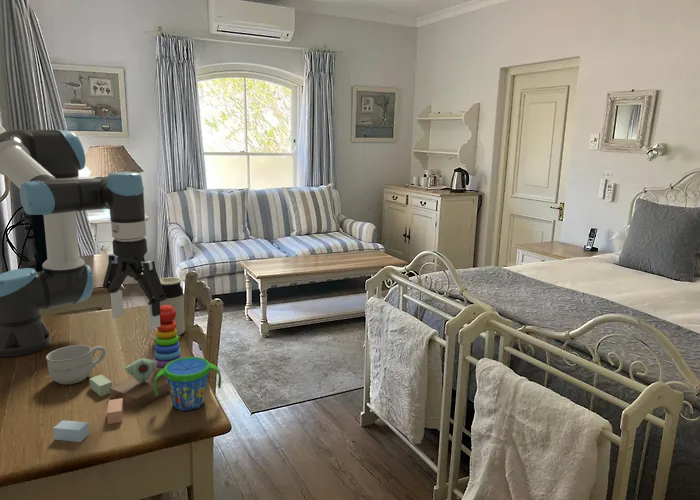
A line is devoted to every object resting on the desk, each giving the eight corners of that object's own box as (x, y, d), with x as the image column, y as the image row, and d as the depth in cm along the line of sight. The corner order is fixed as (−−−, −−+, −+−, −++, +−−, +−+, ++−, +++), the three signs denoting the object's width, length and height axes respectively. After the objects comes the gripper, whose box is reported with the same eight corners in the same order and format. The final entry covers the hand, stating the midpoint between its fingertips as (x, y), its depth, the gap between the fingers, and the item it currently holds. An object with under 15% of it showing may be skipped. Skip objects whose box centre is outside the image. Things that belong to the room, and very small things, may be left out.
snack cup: (222, 390, 132) (220, 353, 129) (222, 411, 122) (220, 372, 119) (158, 396, 128) (155, 358, 126) (152, 419, 118) (149, 378, 116)
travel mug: (175, 326, 174) (172, 275, 170) (190, 331, 169) (187, 279, 165) (154, 333, 167) (150, 280, 163) (169, 339, 163) (165, 285, 159)
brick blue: (54, 440, 110) (53, 427, 109) (64, 432, 113) (62, 420, 112) (80, 442, 109) (79, 430, 108) (89, 434, 112) (88, 422, 111)
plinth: (110, 397, 127) (109, 387, 127) (150, 377, 137) (149, 369, 137) (137, 408, 122) (136, 398, 122) (176, 387, 133) (175, 378, 132)
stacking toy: (173, 377, 138) (169, 311, 134) (147, 374, 140) (142, 309, 135) (188, 364, 146) (184, 302, 141) (163, 361, 147) (158, 300, 143)
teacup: (48, 392, 129) (44, 363, 127) (50, 374, 138) (46, 347, 136) (108, 381, 135) (106, 353, 133) (106, 364, 145) (104, 338, 143)
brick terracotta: (110, 411, 121) (108, 400, 120) (123, 409, 122) (122, 398, 122) (107, 424, 116) (106, 413, 115) (122, 422, 117) (121, 410, 116)
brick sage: (90, 389, 131) (89, 378, 131) (102, 384, 134) (101, 374, 133) (100, 397, 128) (99, 386, 127) (112, 392, 130) (111, 382, 129)
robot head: (157, 376, 133) (156, 352, 132) (161, 382, 130) (159, 358, 128) (124, 383, 129) (122, 358, 127) (127, 390, 126) (125, 365, 124)
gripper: (82, 234, 124) (90, 316, 129) (152, 248, 112) (158, 338, 117) (109, 229, 130) (116, 308, 135) (178, 242, 118) (183, 327, 123)
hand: (135, 322), depth 126 cm, fingers open, 13 cm apart
